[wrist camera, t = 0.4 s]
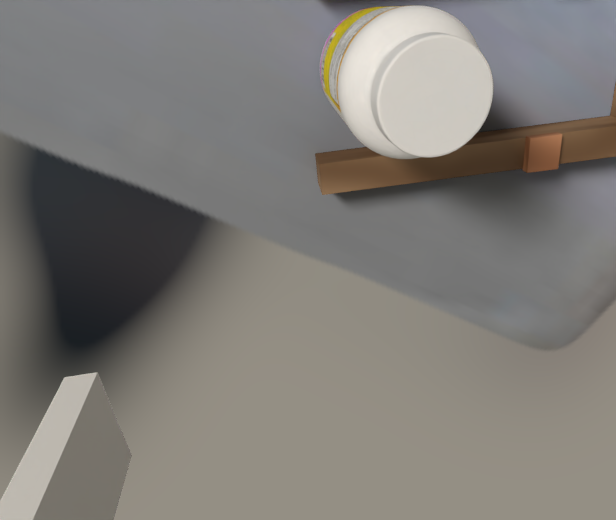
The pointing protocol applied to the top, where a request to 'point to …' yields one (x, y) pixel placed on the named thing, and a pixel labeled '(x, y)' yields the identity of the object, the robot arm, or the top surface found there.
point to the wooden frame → (474, 155)
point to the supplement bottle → (407, 80)
